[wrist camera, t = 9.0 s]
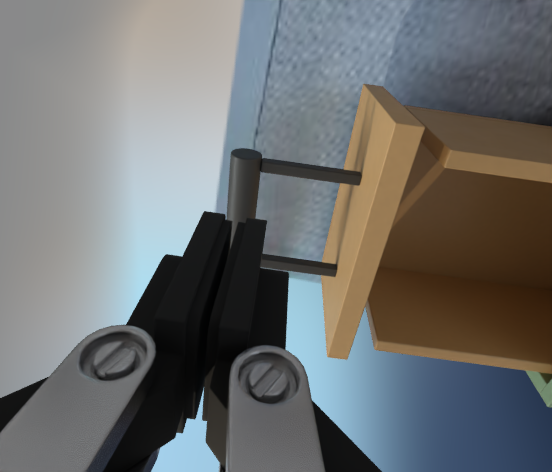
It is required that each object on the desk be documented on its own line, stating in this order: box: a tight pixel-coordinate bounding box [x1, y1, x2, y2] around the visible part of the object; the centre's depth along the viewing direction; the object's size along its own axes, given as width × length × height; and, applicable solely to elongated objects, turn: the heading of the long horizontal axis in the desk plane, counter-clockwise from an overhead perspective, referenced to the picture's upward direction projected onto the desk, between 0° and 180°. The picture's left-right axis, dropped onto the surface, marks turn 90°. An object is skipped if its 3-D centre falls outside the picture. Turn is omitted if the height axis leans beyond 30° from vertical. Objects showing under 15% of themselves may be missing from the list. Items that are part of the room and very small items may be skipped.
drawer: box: [227, 84, 552, 374], centre depth 22 cm, size 25×14×9 cm, turn 83°
